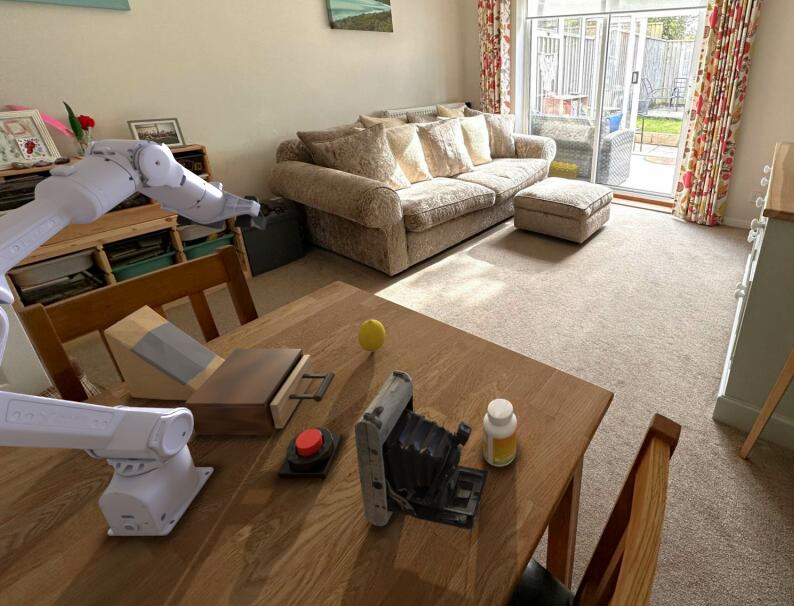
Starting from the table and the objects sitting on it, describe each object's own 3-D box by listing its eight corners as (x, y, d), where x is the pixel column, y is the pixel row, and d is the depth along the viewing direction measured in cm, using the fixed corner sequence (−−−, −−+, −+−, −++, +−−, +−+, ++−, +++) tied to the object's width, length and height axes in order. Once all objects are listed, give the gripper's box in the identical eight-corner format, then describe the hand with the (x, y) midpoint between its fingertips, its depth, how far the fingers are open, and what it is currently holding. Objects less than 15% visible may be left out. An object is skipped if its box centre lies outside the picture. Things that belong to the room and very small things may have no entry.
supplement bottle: (522, 448, 67) (524, 404, 63) (503, 474, 63) (505, 428, 59) (495, 433, 70) (496, 389, 66) (476, 456, 66) (476, 411, 62)
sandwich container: (210, 402, 74) (188, 335, 69) (129, 398, 75) (101, 331, 69) (241, 369, 82) (223, 307, 77) (168, 366, 83) (145, 303, 77)
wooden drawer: (343, 376, 80) (339, 354, 78) (316, 428, 69) (311, 405, 67) (255, 375, 80) (250, 354, 78) (214, 428, 68) (206, 404, 66)
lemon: (355, 356, 87) (350, 325, 84) (370, 340, 92) (366, 310, 89) (377, 361, 86) (373, 330, 83) (391, 345, 91) (388, 315, 88)
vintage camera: (469, 555, 53) (475, 444, 46) (362, 525, 55) (350, 415, 48) (488, 486, 62) (495, 384, 55) (394, 463, 64) (389, 362, 57)
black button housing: (325, 478, 61) (322, 465, 60) (279, 479, 61) (275, 465, 60) (342, 439, 68) (340, 426, 67) (300, 439, 68) (297, 425, 67)
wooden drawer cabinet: (308, 377, 81) (302, 348, 78) (271, 435, 68) (263, 403, 66) (244, 376, 81) (236, 348, 78) (196, 435, 68) (184, 403, 65)
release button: (316, 456, 62) (315, 448, 61) (293, 456, 62) (291, 448, 61) (326, 436, 65) (324, 428, 65) (303, 436, 65) (302, 428, 65)
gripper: (241, 170, 61) (287, 205, 74) (147, 167, 61) (209, 202, 74) (228, 213, 59) (278, 242, 71) (130, 209, 59) (197, 238, 72)
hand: (242, 224), depth 73 cm, fingers open, 7 cm apart
